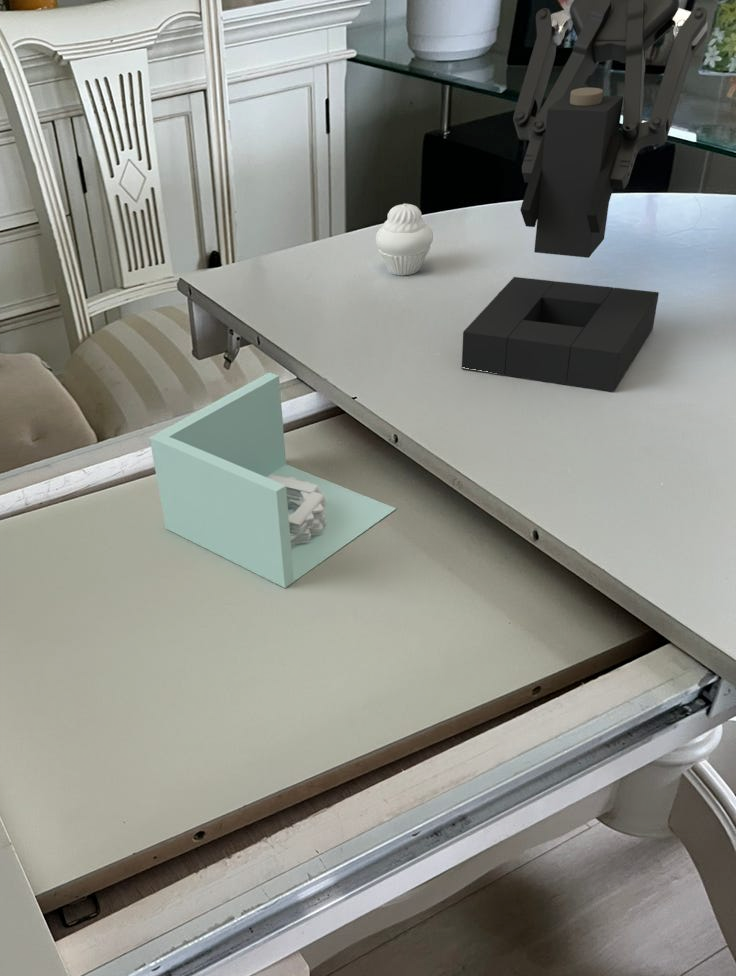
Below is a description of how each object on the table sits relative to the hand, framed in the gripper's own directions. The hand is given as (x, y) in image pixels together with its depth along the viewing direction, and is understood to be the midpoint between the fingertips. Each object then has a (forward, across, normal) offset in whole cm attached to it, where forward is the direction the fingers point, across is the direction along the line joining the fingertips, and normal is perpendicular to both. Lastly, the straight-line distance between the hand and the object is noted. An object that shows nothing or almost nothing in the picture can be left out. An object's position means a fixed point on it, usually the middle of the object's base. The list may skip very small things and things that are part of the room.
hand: (560, 220), depth 80 cm
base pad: (+6, 0, +11) cm, 13 cm away
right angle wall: (+31, -10, -13) cm, 34 cm away
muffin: (-4, -21, +22) cm, 30 cm away
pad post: (0, 0, +5) cm, 5 cm away
